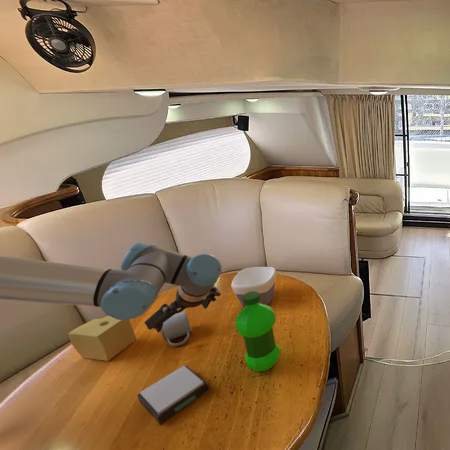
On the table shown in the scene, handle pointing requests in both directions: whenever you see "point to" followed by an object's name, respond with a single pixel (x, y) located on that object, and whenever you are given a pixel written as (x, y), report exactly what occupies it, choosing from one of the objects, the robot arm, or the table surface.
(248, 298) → the plastic bottle
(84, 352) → the cheese
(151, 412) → the scale
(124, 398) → the table surface
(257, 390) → the table surface
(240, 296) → the bowl
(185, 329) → the ceramic mug
